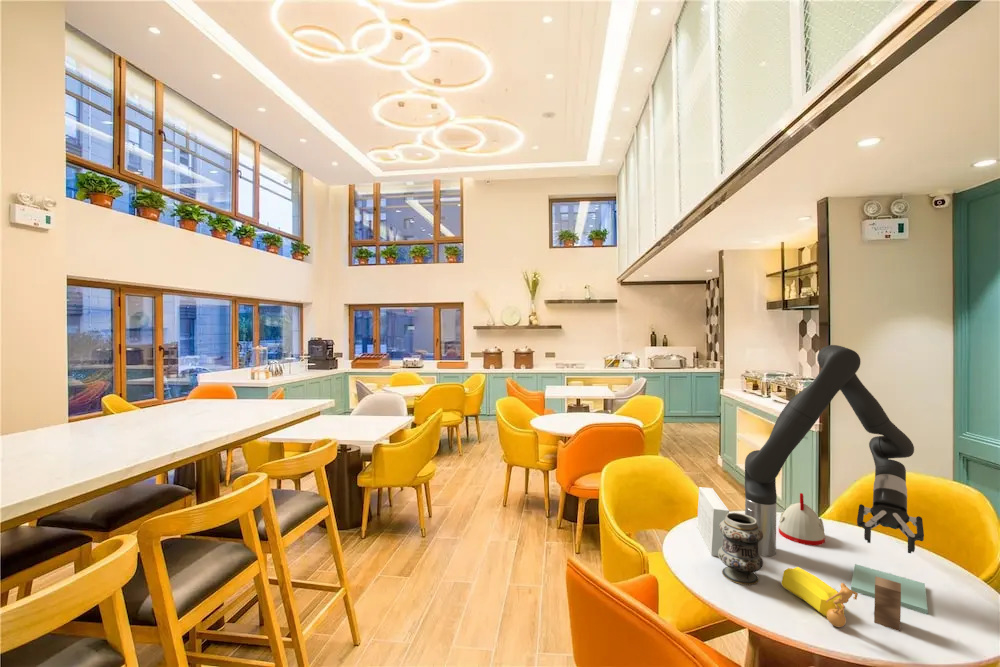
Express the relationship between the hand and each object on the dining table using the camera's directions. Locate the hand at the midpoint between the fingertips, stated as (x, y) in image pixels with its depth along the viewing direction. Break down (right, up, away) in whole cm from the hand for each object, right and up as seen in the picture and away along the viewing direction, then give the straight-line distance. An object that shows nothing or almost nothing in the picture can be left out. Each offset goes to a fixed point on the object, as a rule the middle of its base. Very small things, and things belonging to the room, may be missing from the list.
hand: (888, 546), depth 124 cm
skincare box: (-33, -15, +34) cm, 50 cm away
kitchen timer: (+1, -15, +38) cm, 41 cm away
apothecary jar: (-35, -15, +13) cm, 40 cm away
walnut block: (-8, -15, -8) cm, 19 cm away
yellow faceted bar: (-21, -16, +1) cm, 26 cm away
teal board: (+5, -15, +6) cm, 17 cm away
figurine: (-22, -16, -11) cm, 29 cm away
